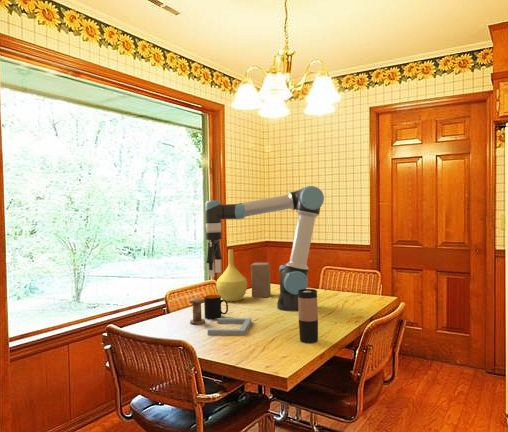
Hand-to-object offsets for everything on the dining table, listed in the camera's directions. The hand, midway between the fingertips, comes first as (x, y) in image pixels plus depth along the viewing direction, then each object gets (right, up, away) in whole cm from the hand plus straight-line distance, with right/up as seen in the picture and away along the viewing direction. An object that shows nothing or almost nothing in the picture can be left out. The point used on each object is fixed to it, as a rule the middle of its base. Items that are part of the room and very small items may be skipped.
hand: (214, 274), depth 208 cm
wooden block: (+24, -20, +48) cm, 58 cm away
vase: (+7, -21, +40) cm, 45 cm away
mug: (+1, -22, 0) cm, 22 cm away
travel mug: (+41, -21, -41) cm, 62 cm away
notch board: (+9, -21, -20) cm, 31 cm away
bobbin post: (-7, -22, -9) cm, 25 cm away
